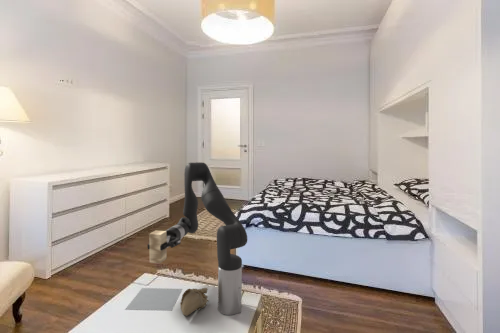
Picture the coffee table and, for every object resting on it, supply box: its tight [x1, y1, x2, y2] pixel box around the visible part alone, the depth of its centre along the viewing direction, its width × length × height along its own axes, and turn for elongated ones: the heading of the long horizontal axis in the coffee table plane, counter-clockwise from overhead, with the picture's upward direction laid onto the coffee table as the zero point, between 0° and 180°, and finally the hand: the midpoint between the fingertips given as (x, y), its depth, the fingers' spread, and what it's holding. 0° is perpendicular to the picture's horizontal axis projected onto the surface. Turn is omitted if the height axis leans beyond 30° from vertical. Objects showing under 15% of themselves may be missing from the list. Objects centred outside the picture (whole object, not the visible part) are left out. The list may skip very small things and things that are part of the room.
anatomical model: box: [179, 287, 209, 317], centre depth 103 cm, size 7×11×15 cm
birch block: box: [148, 229, 168, 264], centre depth 111 cm, size 5×5×12 cm
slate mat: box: [124, 287, 183, 312], centre depth 109 cm, size 18×16×1 cm
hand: (154, 247), depth 108 cm, fingers closed on birch block, 5 cm apart
